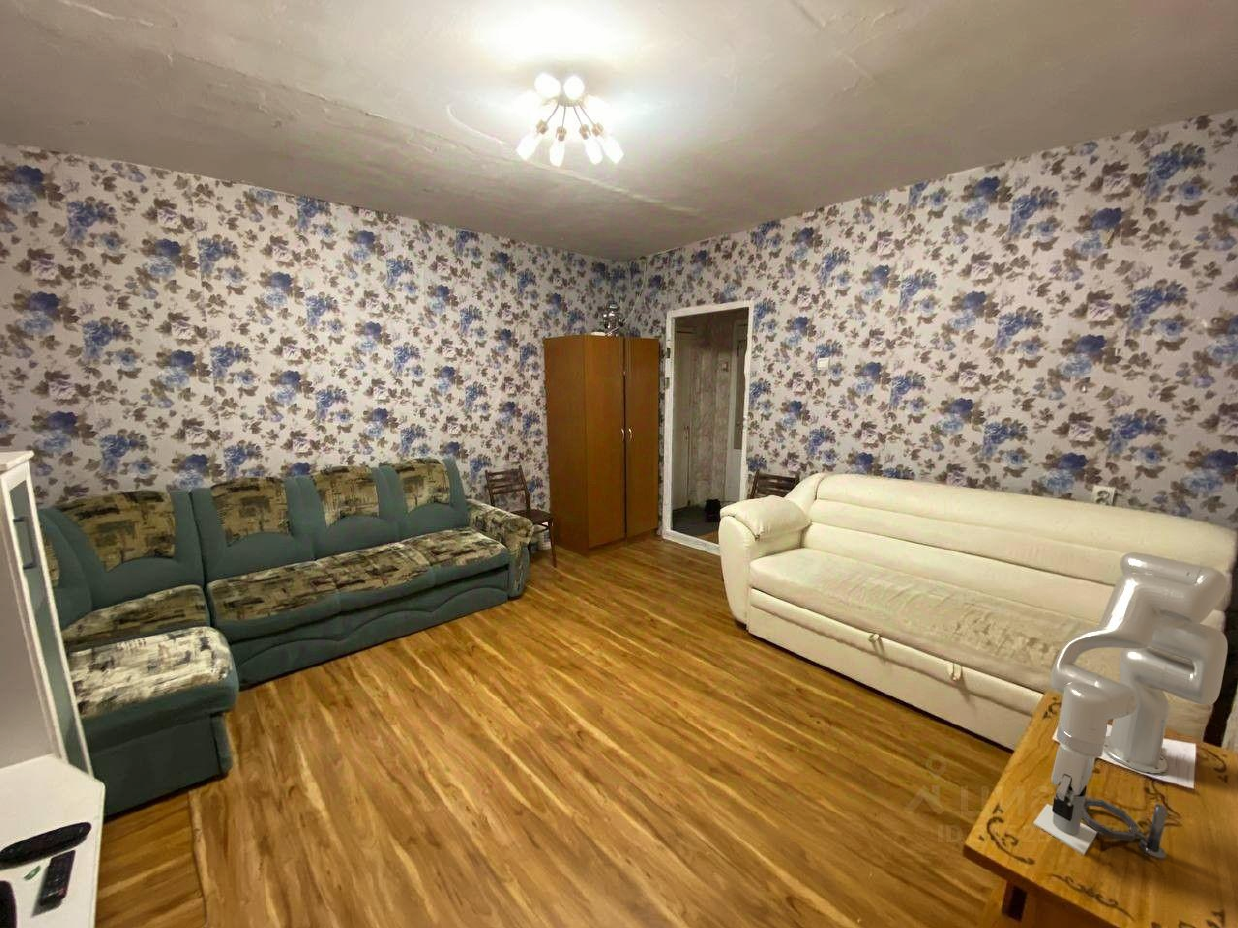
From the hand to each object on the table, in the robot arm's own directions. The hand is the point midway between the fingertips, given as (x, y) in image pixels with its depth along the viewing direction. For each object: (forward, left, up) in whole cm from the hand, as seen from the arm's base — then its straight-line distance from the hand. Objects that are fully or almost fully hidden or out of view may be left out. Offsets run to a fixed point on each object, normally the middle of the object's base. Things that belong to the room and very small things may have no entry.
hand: (1068, 805), depth 112 cm
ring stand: (-9, +7, -6) cm, 13 cm away
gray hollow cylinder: (0, 0, -6) cm, 6 cm away
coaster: (0, 0, -6) cm, 6 cm away
